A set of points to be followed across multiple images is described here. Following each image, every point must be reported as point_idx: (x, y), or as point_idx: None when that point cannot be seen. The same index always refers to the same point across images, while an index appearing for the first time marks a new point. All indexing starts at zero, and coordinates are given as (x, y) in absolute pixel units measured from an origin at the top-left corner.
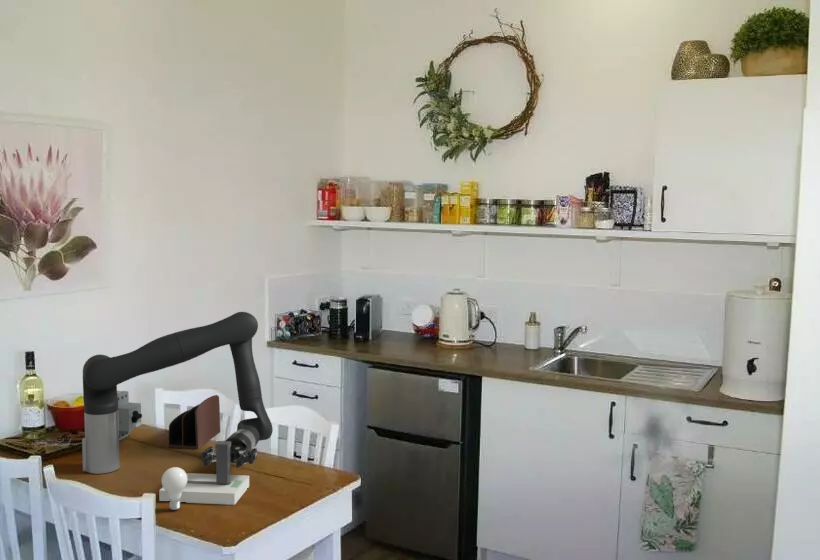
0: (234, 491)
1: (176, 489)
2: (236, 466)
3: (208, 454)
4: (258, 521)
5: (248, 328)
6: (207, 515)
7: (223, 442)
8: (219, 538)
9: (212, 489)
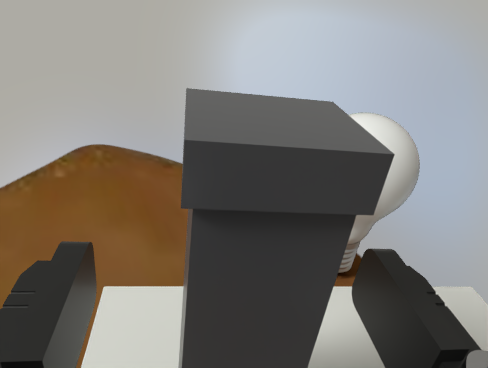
0: (107, 312)
1: None
2: (92, 282)
3: (484, 355)
4: (3, 216)
5: None
6: None
7: (277, 120)
8: (121, 157)
9: None
